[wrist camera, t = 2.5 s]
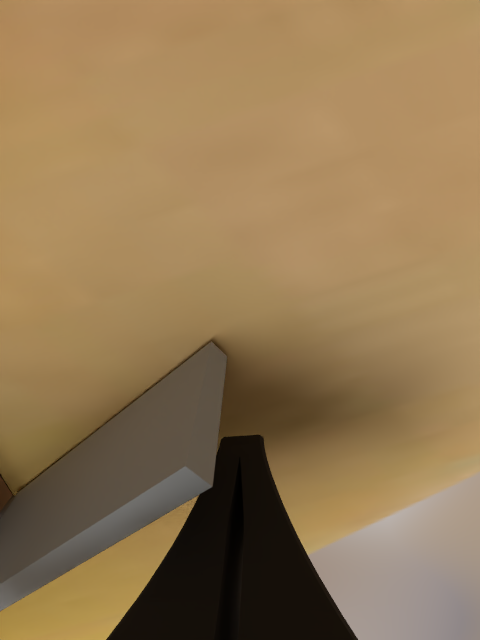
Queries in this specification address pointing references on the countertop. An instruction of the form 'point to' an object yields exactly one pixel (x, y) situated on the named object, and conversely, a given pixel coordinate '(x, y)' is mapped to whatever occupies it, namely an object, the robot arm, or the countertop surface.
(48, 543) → the cabinet door
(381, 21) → the countertop surface
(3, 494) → the walnut cabinet
